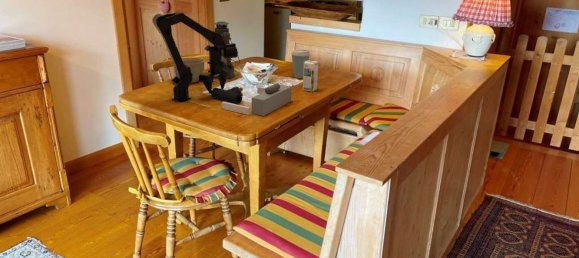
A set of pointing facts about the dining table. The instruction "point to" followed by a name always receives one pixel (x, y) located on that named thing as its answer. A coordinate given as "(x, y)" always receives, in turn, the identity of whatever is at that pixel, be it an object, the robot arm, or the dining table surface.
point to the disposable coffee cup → (299, 61)
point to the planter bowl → (194, 66)
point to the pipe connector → (228, 94)
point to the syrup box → (310, 75)
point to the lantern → (225, 34)
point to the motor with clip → (264, 100)
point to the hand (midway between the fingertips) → (216, 91)
